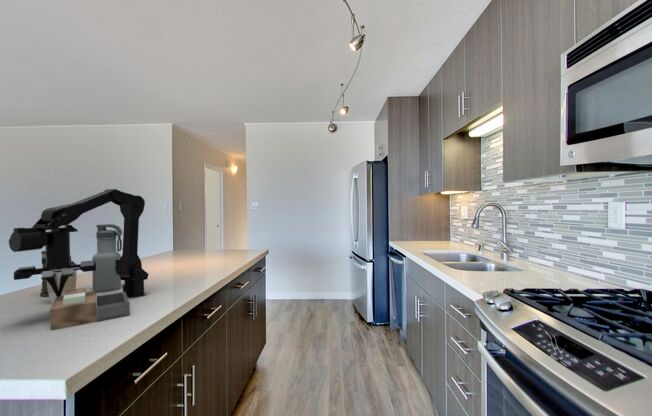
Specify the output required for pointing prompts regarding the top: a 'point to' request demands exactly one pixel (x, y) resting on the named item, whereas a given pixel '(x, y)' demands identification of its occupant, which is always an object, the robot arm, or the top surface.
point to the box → (112, 306)
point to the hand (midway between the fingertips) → (58, 296)
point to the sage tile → (74, 298)
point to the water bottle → (107, 259)
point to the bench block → (73, 312)
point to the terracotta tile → (75, 291)
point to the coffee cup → (68, 285)
